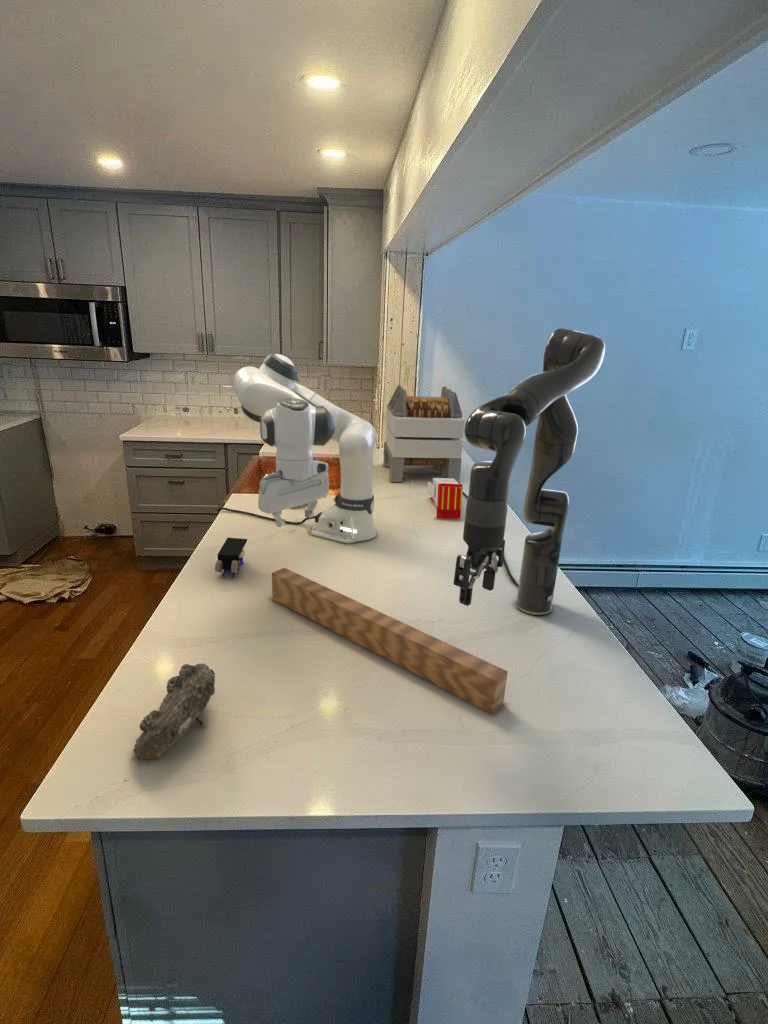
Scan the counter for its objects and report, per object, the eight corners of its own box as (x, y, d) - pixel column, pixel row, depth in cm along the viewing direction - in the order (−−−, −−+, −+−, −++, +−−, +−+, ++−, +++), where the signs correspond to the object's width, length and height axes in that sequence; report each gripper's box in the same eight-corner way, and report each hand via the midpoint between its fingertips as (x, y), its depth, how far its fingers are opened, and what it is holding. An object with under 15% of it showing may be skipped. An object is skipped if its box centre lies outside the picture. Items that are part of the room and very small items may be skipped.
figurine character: (238, 584, 162) (249, 557, 175) (236, 562, 158) (247, 536, 172) (215, 584, 161) (227, 556, 175) (212, 561, 158) (225, 535, 171)
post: (272, 598, 152) (271, 572, 149) (284, 593, 155) (284, 567, 153) (492, 714, 112) (496, 681, 110) (503, 703, 116) (507, 671, 113)
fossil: (165, 664, 116) (216, 632, 111) (198, 695, 118) (250, 665, 113) (108, 752, 96) (167, 718, 91) (150, 786, 99) (209, 755, 94)
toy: (455, 474, 240) (467, 485, 211) (453, 505, 243) (464, 520, 214) (426, 473, 240) (434, 484, 211) (425, 504, 243) (432, 519, 213)
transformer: (382, 463, 289) (386, 382, 275) (445, 464, 293) (451, 384, 279) (390, 482, 257) (394, 392, 243) (460, 483, 261) (468, 394, 247)
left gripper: (268, 478, 127) (270, 536, 132) (333, 463, 142) (332, 515, 147) (251, 473, 131) (253, 528, 135) (315, 458, 146) (315, 509, 150)
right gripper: (483, 534, 97) (474, 616, 103) (521, 514, 108) (511, 590, 113) (446, 522, 102) (440, 602, 107) (487, 504, 112) (479, 578, 118)
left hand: (295, 521), depth 141 cm, fingers open, 8 cm apart
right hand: (476, 596), depth 110 cm, fingers open, 8 cm apart
